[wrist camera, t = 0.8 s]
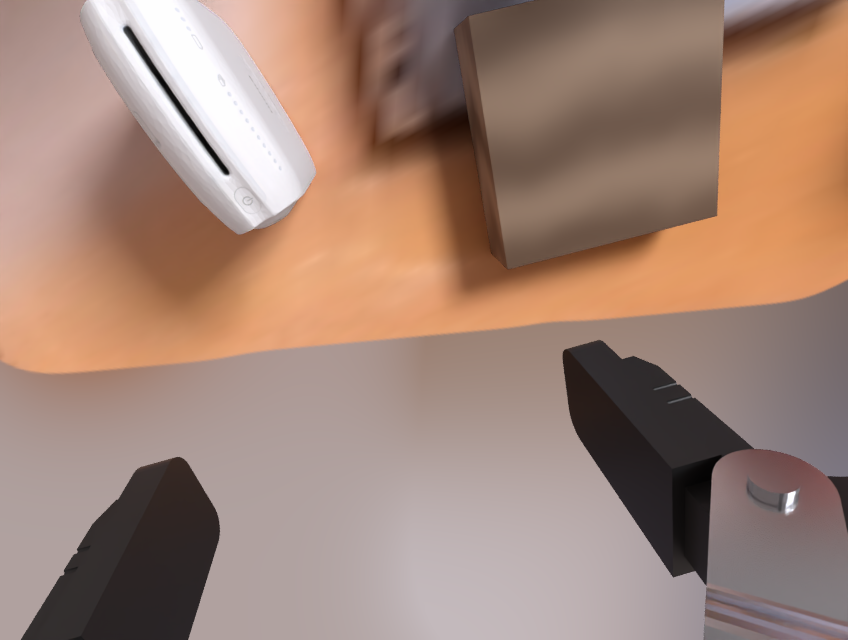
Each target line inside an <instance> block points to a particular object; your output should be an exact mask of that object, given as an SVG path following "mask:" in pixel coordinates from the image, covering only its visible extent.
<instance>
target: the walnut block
mask: <svg viewBox="0 0 848 640" xmlns="http://www.w3.org/2000/svg"><path fill="white" fill-rule="evenodd" d="M723 27H724V0H534V1H530V2H525V3H521V4H517V5H513V6H508V7H504V8H500V9H496V10H492V11H487V12H483V13H479V14H475V15H470V16H468V17H467V18H466V19H465V20H464V21H462V22H461V23H460V24H459V25H458V26H457V27H456V28H455V29H454V34H455V40H456V46H457V52H458V58H459V64H460V70H461V76H462V82H463V88H464V93H465V99H466V105H467V111H468V117H469V123H470V129H471V135H472V141H473V147H474V153H475V159H476V165H477V171H478V177H479V183H480V189H481V195H482V201H483V207H484V213H485V219H486V225H487V231H488V237H489V243H490V249H491V254H492V255H493V256H494V257H495V258H496V259H498V260H499V261H500V262H501V263H502V264H503V265H504V266H505V267H506V268H507V269H512V268H516V267H520V266H524V265H527V264H531V263H535V262H539V261H543V260H547V259H551V258H555V257H559V256H563V255H566V254H570V253H574V252H578V251H582V250H586V249H590V248H594V247H598V246H602V245H605V244H609V243H613V242H617V241H621V240H625V239H629V238H633V237H637V236H641V235H644V234H648V233H652V232H656V231H660V230H664V229H668V228H672V227H676V226H680V225H683V224H687V223H691V222H695V221H699V220H703V219H707V218H711V217H715V216H717V200H718V171H719V143H720V114H721V85H722V56H723Z"/></svg>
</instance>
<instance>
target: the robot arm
mask: <svg viewBox="0 0 848 640" xmlns="http://www.w3.org/2000/svg"><path fill="white" fill-rule="evenodd" d="M563 366H564V374H565V381H566V389H567V397H568V405H569V411H570V416H571V419H572V423H573V426H574V428H575V431H576V433H577V435H578V436H579V438H580V440H581V442H582V443H583V445H584V446H585V447H586V449H587V450H588V452H589V453H590V455H591V456H592V458H593V459H594V461H595V462H596V464H597V465H598V467H599V468H600V470H601V471H602V473H603V474H604V476H605V477H606V478H607V480H608V482H609V483H610V484H611V486H612V487H613V489H614V490H615V492H616V493H617V495H618V496H619V498H620V499H621V501H622V502H623V504H624V505H625V507H626V508H627V510H628V511H629V513H630V514H631V515H632V517H633V518H634V520H635V522H636V523H637V525H638V526H639V528H640V529H641V530H642V532H643V533H644V535H645V536H646V538H647V539H648V541H649V542H650V544H651V545H652V547H653V548H654V550H655V551H656V553H657V554H658V556H659V557H660V559H661V560H662V562H663V563H664V565H665V566H666V568H667V569H668V571H669V572H670V573H671V575H672V576H673V577H676V576H679V575H683V574H686V573H690V572H693V571H696V572H697V574H698V575H699V577H700V578H701V579H702V580H703V582H704V583H705V585H706V586H707V588H706V603H705V622H704V640H848V477H832V476H826V475H825V474H823V473H822V472H821V471H820V470H818V469H817V468H815V467H814V466H812V465H811V464H808V463H807V462H805V461H803V460H801V459H799V458H796V457H794V456H791V455H788V454H784V453H781V452H776V451H771V450H763V449H762V450H761V449H754V448H753V447H751V446H750V445H749V444H748V443H747V442H746V441H745V440H743V439H742V438H741V437H740V436H739V435H738V434H736V433H735V432H734V431H733V430H732V429H730V428H729V427H728V426H727V425H726V424H725V423H724V422H723V421H721V420H720V419H719V418H718V417H717V416H716V415H714V414H713V413H712V412H711V411H709V409H707V408H706V407H705V406H704V405H703V404H702V403H700V402H699V401H698V400H697V399H696V398H692V397H691V394H690V393H689V392H688V391H686V390H685V389H684V388H683V387H682V386H681V385H677V383H676V381H675V380H674V379H672V378H671V377H670V376H669V375H668V374H667V373H665V372H664V371H663V370H662V369H661V368H660V367H658V366H656V365H654V364H652V363H649V362H646V361H644V360H642V359H639V358H637V357H634V356H632V357H628V358H625V359H621V358H620V357H619V356H618V355H617V354H616V353H615V352H614V351H613V350H612V349H610V348H609V347H608V346H607V345H606V344H605V343H604V342H603V341H601V340H597V341H594V342H590V343H587V344H583V345H580V346H576V347H572V348H569V349H565V350H564V351H563ZM219 535H220V525H219V519H218V515H217V512H216V510H215V508H214V506H213V504H212V503H211V501H210V499H209V498H208V496H207V494H206V493H205V491H204V489H203V488H202V486H201V484H200V483H199V481H198V479H197V478H196V476H195V474H194V473H193V471H192V469H191V468H190V466H189V464H188V463H187V462H186V461H185V460H184V459H183V458H180V457H176V458H172V459H168V460H165V461H161V462H158V463H154V464H150V465H147V466H143V467H140V468H139V469H137V470H136V471H135V473H134V474H133V476H132V477H131V479H130V481H129V483H128V484H127V486H126V487H125V489H124V491H123V493H122V494H121V496H120V498H119V499H118V500H116V501H115V502H114V503H113V504H112V505H111V506H110V507H109V508H108V509H107V510H106V511H105V512H104V513H103V514H102V515H101V516H100V517H99V518H98V519H97V520H96V521H95V522H94V523H93V524H92V526H91V528H90V529H89V531H88V533H87V534H86V536H85V537H84V539H83V540H82V542H81V544H80V545H79V547H78V548H77V551H78V553H77V554H74V555H73V557H72V558H71V560H70V562H69V563H68V565H67V566H66V568H65V569H64V572H65V573H64V575H63V576H60V578H59V579H58V581H57V582H56V584H55V586H54V587H53V589H52V590H51V592H50V594H49V596H48V597H47V598H46V600H45V602H44V603H43V605H42V607H41V609H40V610H39V611H38V613H37V615H36V616H35V618H34V620H33V621H32V623H31V624H30V626H29V628H28V629H27V631H26V632H25V634H24V636H23V637H22V639H21V640H188V638H189V635H190V632H191V628H192V625H193V622H194V619H195V616H196V612H197V609H198V606H199V603H200V599H201V596H202V593H203V590H204V587H205V583H206V580H207V577H208V573H209V570H210V567H211V564H212V561H213V557H214V554H215V551H216V548H217V544H218V541H219Z"/></svg>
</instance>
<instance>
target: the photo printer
mask: <svg viewBox="0 0 848 640" xmlns="http://www.w3.org/2000/svg"><path fill="white" fill-rule="evenodd" d="M80 21H81V24H82V26H83V29H84V31H85V34H86V36H87V39H88V41H89V43H90V45H91V47H92V50H93V52H94V55H95V56H96V58H97V60H98V62H99V64H100V65H101V67H102V69H103V70H104V72H105V73H106V75H107V77H108V78H109V80H110V81H111V83H112V84H113V86H114V88H115V89H116V91H117V92H118V94H119V95H120V97H121V98H122V100H123V101H124V103H125V104H126V105H127V107H128V108H129V110H130V111H131V113H132V114H133V116H134V117H135V118H136V120H137V121H138V123H139V124H140V125H141V127H142V128H143V130H144V131H145V132H146V134H147V135H148V136H149V138H150V139H151V141H152V142H153V143H154V145H155V146H156V147H157V149H158V150H159V151H160V153H161V154H162V155H163V157H164V158H165V159H166V160H167V161H168V163H169V164H170V165H171V167H172V168H173V169H174V171H175V172H176V173H177V174H178V176H179V177H180V178H181V179H182V180H183V181H184V183H185V184H186V185H187V186H188V187H189V189H190V190H191V191H192V192H193V193H194V195H195V196H196V197H197V198H198V199H199V200H200V202H201V203H202V204H204V205H205V206H206V207H207V208H208V209H209V210H210V211H211V212H212V213H213V214H214V215H215V216H216V217H217V218H218V219H219V220H220V221H221V222H223V223H224V224H225V225H226V226H227V227H229V228H230V229H231V230H233V231H234V232H235V233H237V234H243V233H246V232H248V231H250V230H252V229H261V228H265V227H268V226H270V225H273V224H275V223H277V222H278V221H280V220H281V219H283V218H284V217H286V216H287V215H288V214H289V212H290V211H291V210H292V208H293V206H294V205H295V203H296V202H297V200H298V199H299V198H300V197H301V196H303V195H304V193H305V192H306V190H307V188H308V187H309V185H310V183H311V182H312V180H313V178H314V177H315V175H316V169H315V166H314V163H313V161H312V158H311V156H310V154H309V152H308V150H307V148H306V146H305V145H304V143H303V141H302V139H301V137H300V136H299V134H298V132H297V130H296V129H295V127H294V125H293V124H292V122H291V120H290V118H289V117H288V115H287V114H286V112H285V110H284V109H283V107H282V105H281V104H280V102H279V100H278V99H277V97H276V95H275V94H274V92H273V91H272V89H271V88H270V86H269V84H268V83H267V81H266V80H265V78H264V76H263V75H262V73H261V72H260V70H259V69H258V67H257V66H256V64H255V63H254V61H253V59H252V58H251V56H250V55H249V53H248V52H247V50H246V49H245V47H244V46H243V44H242V43H241V42H240V40H239V39H238V37H237V36H236V35H235V33H234V32H233V31H232V30H231V28H230V27H229V26H228V25H227V24H226V23H225V22H224V21H223V20H222V19H221V18H220V17H219V16H218V15H216V14H215V13H214V12H213V11H211V10H210V9H209V8H207V7H206V6H204V5H203V4H202V3H200V2H199V1H198V0H87V1H86V2H85V3H84V5H83V7H82V9H81V12H80Z"/></svg>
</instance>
